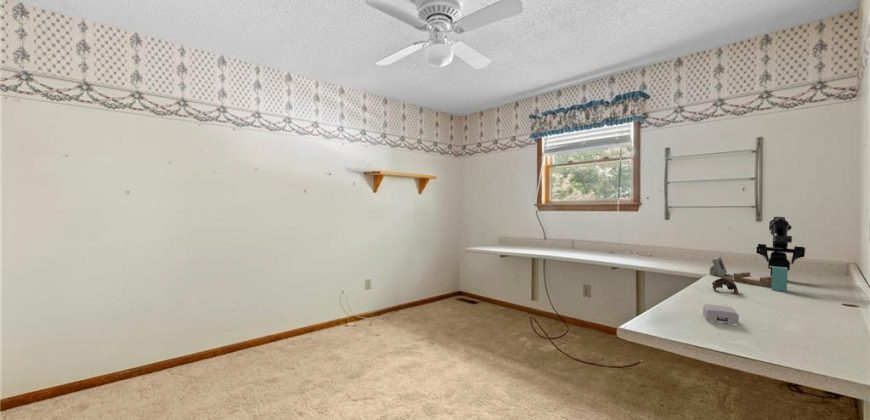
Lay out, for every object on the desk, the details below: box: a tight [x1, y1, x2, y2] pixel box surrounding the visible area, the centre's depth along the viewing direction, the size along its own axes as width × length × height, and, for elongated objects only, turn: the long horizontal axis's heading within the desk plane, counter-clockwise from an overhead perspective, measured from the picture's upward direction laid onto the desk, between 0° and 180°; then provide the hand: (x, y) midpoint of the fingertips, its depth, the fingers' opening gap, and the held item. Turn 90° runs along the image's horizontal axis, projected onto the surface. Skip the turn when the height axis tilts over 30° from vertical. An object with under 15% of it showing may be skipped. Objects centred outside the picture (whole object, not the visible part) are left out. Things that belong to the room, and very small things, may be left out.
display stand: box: [733, 271, 772, 288], centre depth 201 cm, size 12×14×4 cm
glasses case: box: [771, 266, 789, 293], centre depth 185 cm, size 6×6×12 cm
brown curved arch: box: [711, 276, 739, 296], centre depth 181 cm, size 12×10×8 cm
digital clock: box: [709, 256, 728, 278], centre depth 223 cm, size 16×9×11 cm, turn 123°
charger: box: [702, 303, 740, 325], centre depth 139 cm, size 5×9×15 cm
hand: (779, 262), depth 190 cm, fingers open, 9 cm apart
